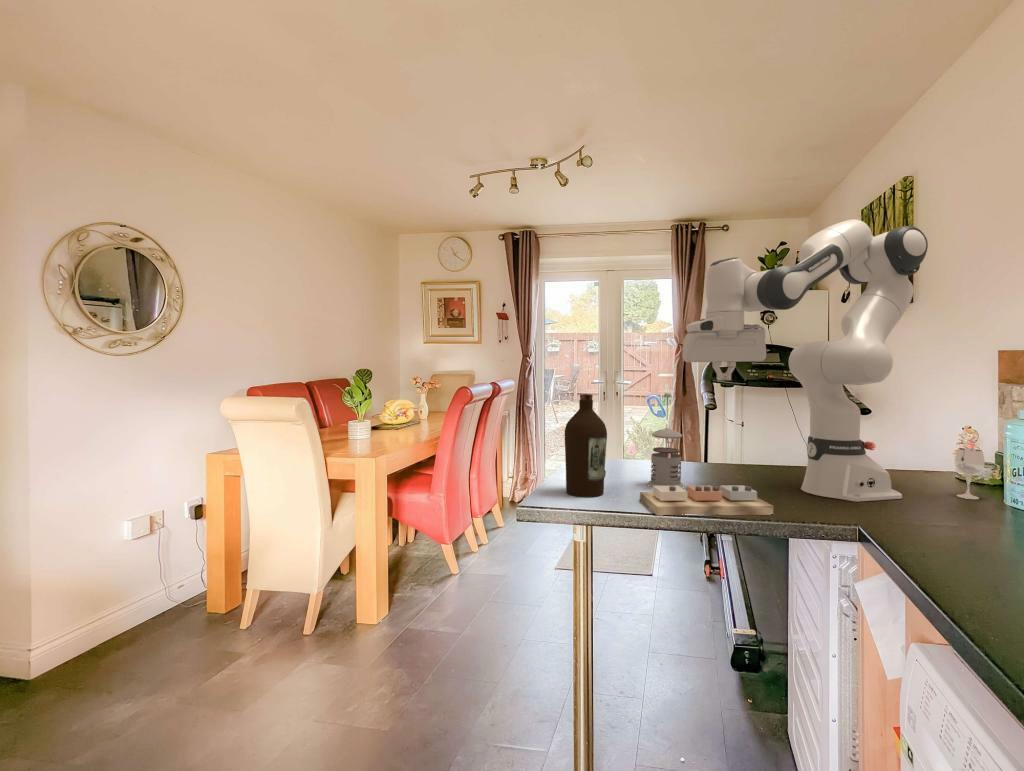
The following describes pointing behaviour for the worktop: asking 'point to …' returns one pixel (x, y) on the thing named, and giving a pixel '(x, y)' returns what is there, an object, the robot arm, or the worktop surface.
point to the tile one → (670, 493)
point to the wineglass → (969, 466)
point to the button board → (706, 506)
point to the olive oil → (585, 451)
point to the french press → (666, 459)
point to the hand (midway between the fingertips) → (723, 380)
